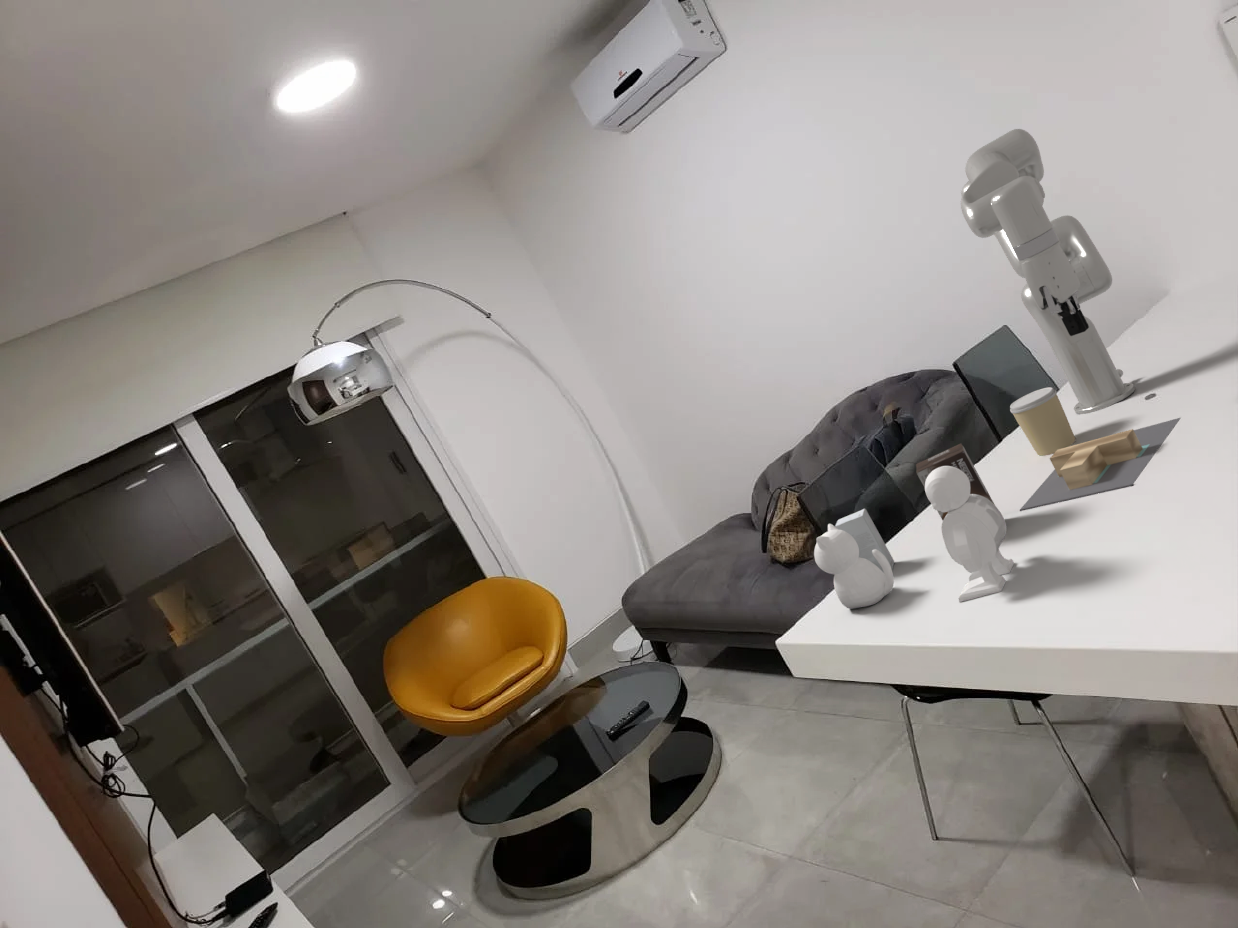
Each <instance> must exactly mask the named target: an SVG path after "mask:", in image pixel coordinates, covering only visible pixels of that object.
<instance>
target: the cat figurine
mask: <svg viewBox="0 0 1238 928" xmlns="http://www.w3.org/2000/svg"><path fill="white" fill-rule="evenodd" d="M872 554H873V556H874V557H875V558H876V560H877V561H878V562H879V564H880V565H881V567H882V569H883V571H884V573H883V572H882V571H881V570H880V569H879V568H878V567H877V566H876V565H875V564H873V563H872V562H870V561H869V560H867V559H865V558H860V557H859V547H858V545H857V543H856V541H855V539H854V538H853V537H852V536H851V535H850V534H849V533H847V532H845V531H843V530H838V529H837V528H836V527H835V525H833V524H832V523H828V524H827V531H826V532H824V533H823V534H822V535H820V536H818V537H816V544H815V546H814V550H813V556H814V561H815V563H816V565H817V566H818V568H819V569H820V570H821V571H823V572H825V573H827V574H830V575H834V576H833V585H834V586H833V587H834V590H835V593H836V596H837V598H838V599H839V601H840V603H841V604H842V605H843V606H844V607H845V608H846V609H851V610H852V609H854V610H855V609H859V608H865V607H870V606H873V605H875V604H877V603H879V602H880V601H882V600H883V598H884V597H885V596H887V595H888V594H890V593H891V592H892V590H893V588H894V583H895V581H894V580H895V579H894V574H893V573H894V572H893V569H891V566H890V564H889V562H888V560H887V559H886V557H885V556H884V555H883V554H882V553H881V552H880V551H878V550H876V549H874V550H872Z"/></svg>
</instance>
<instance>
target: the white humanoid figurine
mask: <svg viewBox="0 0 1238 928" xmlns="http://www.w3.org/2000/svg"><path fill="white" fill-rule="evenodd" d="M924 491H925V495H926V497H927V499H928V501H929V502H930V503H931V506H932V508H933V510H935V511H937V510H938V511H941V512H948V511H949V512H948V513H947V515H946V516H945V518H944V520H942V523H941V534H942V539H943V541H944V545H945V549H946V550H947V553H948V555H949V556H950V558H951V559H952V560H953V561H954V562H955V563H957V564H958V565H960V566H963V568H964V569H965V570H966V571H967V572H968V573H969V574H970V575H969V577H968V582H967V583H965V585H964V587H963V588H962V590H961V593H960V595H959V596H958V603H962V602H965V601H969V600H973V599H976V598H980V597H985V596H989V595H992V594H996V593H999V592H1002V591H1003V588H1004V586H1005V584H1006V582H1007V581H1006V579H1005V577H1004V576H1003V575H1006V574H1010V573H1011V571H1012V569H1013V567H1014V565H1015V562H1014V560H1013V559H1012V558H1009V559H1007V558H1005V557H1004V556H1003V554H1002V553H1001V551H1000V547H1001V545H1002V543H1003V541H1004V539H1005V537H1006V535H1007V531H1008V530H1007V529H1008V528H1007V527H1008V526H1007V523H1006V521H1005V518H1004V516H1003V514H1002V513H1001V511H1000V509H998V507H997V506H996V505H994V504H995V503H994V504H993V503H992V502H991V501H990V500H988V499H987V498H985V497H983V496H981V495H977V494H970V482H969V479H968V477H967V475H966V474H965V473H964V472H963V471H961V470H960V469H958V468H955V467H952V466H941V467H939V468H936V469H934V470H933V471H932V472H931V473H930V474H929V475H928V477H927V479H926V481H925V487H924ZM938 511H937V512H938Z"/></svg>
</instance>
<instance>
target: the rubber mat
mask: <svg viewBox="0 0 1238 928" xmlns="http://www.w3.org/2000/svg"><path fill="white" fill-rule="evenodd" d="M1180 419H1181V417H1177V418H1174V419H1170V420H1166V421H1163V422H1160V423H1155V424H1152V425H1148V426H1144V427H1141V428H1138V429H1133V430H1134V432H1135V434H1136V436H1137V438H1138V440H1139V442H1140V444H1141V446H1144V445H1148V444H1150V445H1149V446H1148V447H1147V449H1146V450H1145V451H1144V453H1143V454H1142V455H1141V456H1140V457H1136V458H1135V459H1131V460H1127V461H1122V462H1118V463H1114V464H1111V465H1110V467H1109V468H1108V469H1107V471H1106V472H1105V473H1104V474H1103V476H1102V477H1101V478H1100V480H1099V481H1098V482H1097V483H1093V484H1092V485H1089V486H1084V487H1080V488H1076V489H1072V490H1070V489H1069V488H1068V486H1067V484H1066V482H1065V480H1064V478H1063V476H1062V477H1058V474H1057V472H1056V470H1055V469H1054V470H1053V471H1052V472H1051V473H1050V475H1048V477H1046V479H1045V480H1044V481H1043V482H1042V483H1041V484H1040V486H1039V487H1038V488H1037V489H1036V490H1035V491H1034V493H1033V494H1031V496H1030V497H1029V498H1028V500H1027V501H1026V502H1025V503H1024V504H1023V506H1022V507H1020V509H1019V511H1020V512H1022V511H1028V510H1031V509H1037V508H1040V507H1045V506H1050V505H1053V504H1057V503H1058V502H1059V503H1062V502H1067V501H1070V500H1076V499H1081V498H1085V497H1090V496H1094V495H1099V494H1103V493H1107V492H1111V491H1117V490H1120V489H1125V488H1130V487H1133V486H1135V482H1136V480H1137V479H1138V477H1139V476H1140V475H1141V473H1142V472H1143V471H1144V470H1145V468H1146V467H1147V465H1148V464H1149V462H1150V461H1151V460H1152V458H1153V457H1154V456H1155V454H1156V453H1157V451H1158V450H1159V449H1160V448H1161V446H1162V444H1163V443H1164V442H1165V440H1167V437H1168V436H1169V435H1170V433H1171V432H1172V431H1173V429H1174V428H1175V427H1176V425H1177V424H1178V422H1180ZM1098 493H1099V494H1098Z"/></svg>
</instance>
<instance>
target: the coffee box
mask: <svg viewBox="0 0 1238 928" xmlns="http://www.w3.org/2000/svg"><path fill="white" fill-rule="evenodd" d="M915 466H916V471H915V472H916V475H917V476H918V479H919V480H920V482H921V484H922V485H923V487H924V488H925V481H926V479H927V477H928V475H929V474H930V473H931V472H932V471H933V470H934V469H936V468H939V467H941V466H952V467H955V468H958V469H960V470H961V471H963V472H964V473H965V474H966V475H967V477H968V479H969V482H970V494H977V495H981V496H983V497H985V498H987V499H988V500H990V501H991V502H992V503H993V504H994V505H995V502H994V500H993V499H992V497H991V495H990V494H989V491H988V489H987V488H986V485H985V484H984V482H983V480H982V479H981V477H980V475H979V473H978V471H977V469H976V468H975V466H974V463H973V462H972V460H971V458H970V456H969V454H968V453H967V451H966V449H965V447H964V445H963V444H962V442H961V443H959V444H957V445H954V446H951V447H950V448H948V449H945V450H943V451H941V452H939V453H937V454H935V455H932V456H930V457H928V458H926V459H924V460H922V461H919V462H917V463H916V464H915ZM995 506H996V505H995ZM936 511H937V513H938V515H939V517H940V519H941V520H942V521H943V520H944V518H945V516H946V515H947V513H948V512H949V511H948V512H941V511H938V510H936Z"/></svg>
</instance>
